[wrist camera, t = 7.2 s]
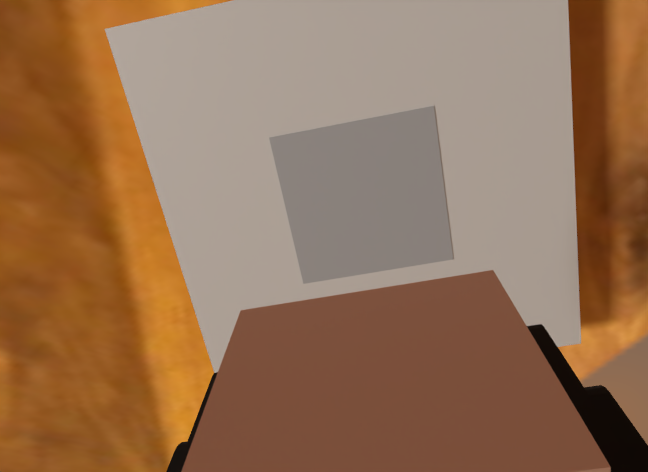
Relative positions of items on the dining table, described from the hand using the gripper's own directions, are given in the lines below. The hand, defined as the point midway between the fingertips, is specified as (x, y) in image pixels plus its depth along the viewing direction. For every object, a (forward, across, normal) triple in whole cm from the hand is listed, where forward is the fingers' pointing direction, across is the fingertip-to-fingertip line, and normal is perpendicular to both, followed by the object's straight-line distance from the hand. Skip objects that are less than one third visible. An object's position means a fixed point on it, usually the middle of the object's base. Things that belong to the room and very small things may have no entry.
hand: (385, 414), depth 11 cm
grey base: (+17, 0, 0) cm, 17 cm away
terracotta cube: (+1, 0, 0) cm, 1 cm away
